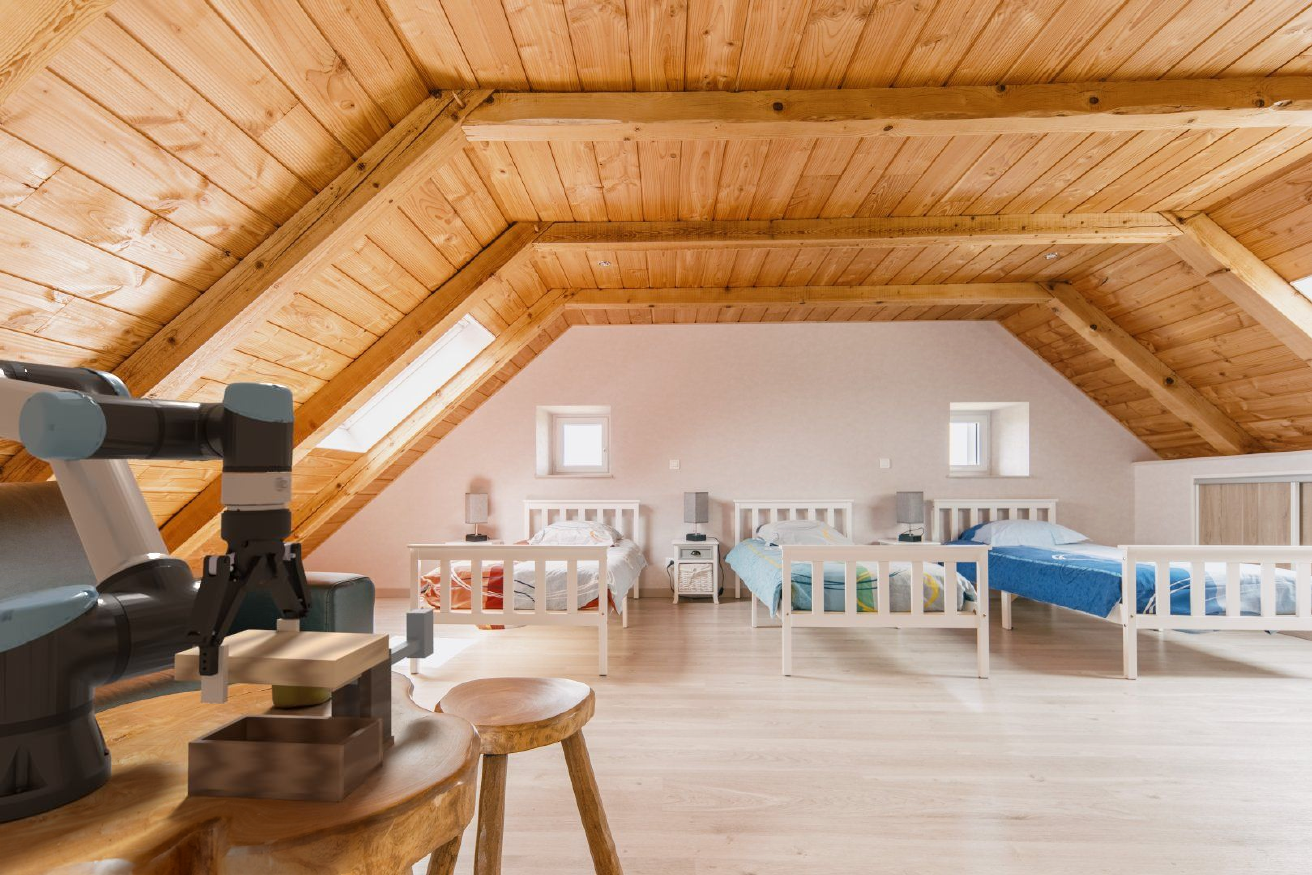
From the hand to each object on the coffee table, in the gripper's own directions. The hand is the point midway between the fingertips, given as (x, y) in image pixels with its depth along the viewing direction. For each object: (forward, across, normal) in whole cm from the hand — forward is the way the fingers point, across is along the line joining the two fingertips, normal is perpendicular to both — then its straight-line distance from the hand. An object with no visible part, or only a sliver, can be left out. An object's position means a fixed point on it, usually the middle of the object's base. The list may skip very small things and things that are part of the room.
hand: (253, 684), depth 82 cm
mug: (+12, +28, +12) cm, 32 cm away
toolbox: (+11, +3, -5) cm, 13 cm away
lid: (-2, 0, -4) cm, 5 cm away
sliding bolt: (+3, +17, -9) cm, 19 cm away
